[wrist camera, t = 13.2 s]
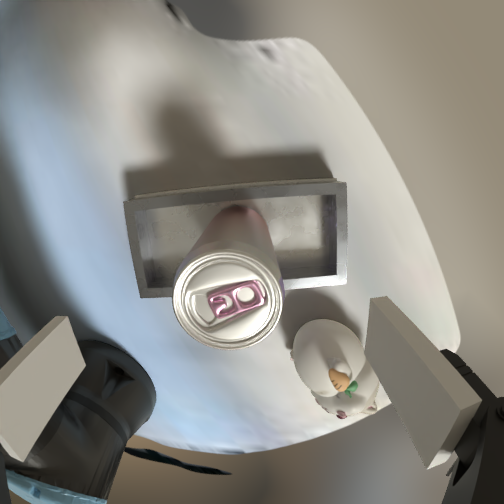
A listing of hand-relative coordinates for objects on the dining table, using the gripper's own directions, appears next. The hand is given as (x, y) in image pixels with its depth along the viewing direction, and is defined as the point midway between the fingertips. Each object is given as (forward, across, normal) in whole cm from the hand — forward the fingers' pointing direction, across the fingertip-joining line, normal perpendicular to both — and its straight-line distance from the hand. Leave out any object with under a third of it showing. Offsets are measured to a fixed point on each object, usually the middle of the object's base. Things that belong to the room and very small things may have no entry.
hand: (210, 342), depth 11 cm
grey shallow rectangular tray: (+19, +1, 0) cm, 19 cm away
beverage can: (+18, +1, 0) cm, 18 cm away
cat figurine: (+20, +11, -16) cm, 27 cm away
